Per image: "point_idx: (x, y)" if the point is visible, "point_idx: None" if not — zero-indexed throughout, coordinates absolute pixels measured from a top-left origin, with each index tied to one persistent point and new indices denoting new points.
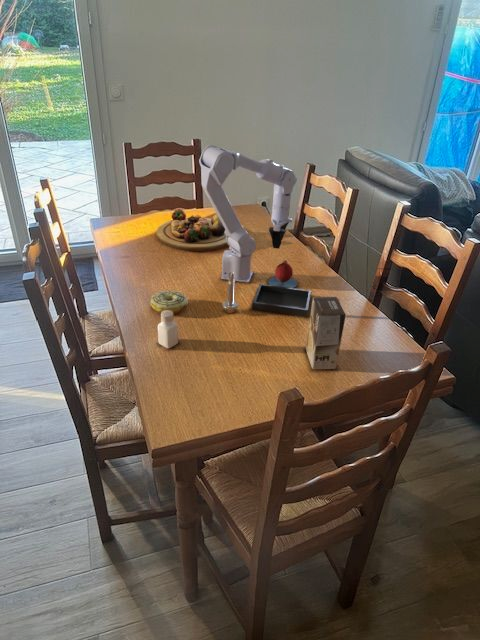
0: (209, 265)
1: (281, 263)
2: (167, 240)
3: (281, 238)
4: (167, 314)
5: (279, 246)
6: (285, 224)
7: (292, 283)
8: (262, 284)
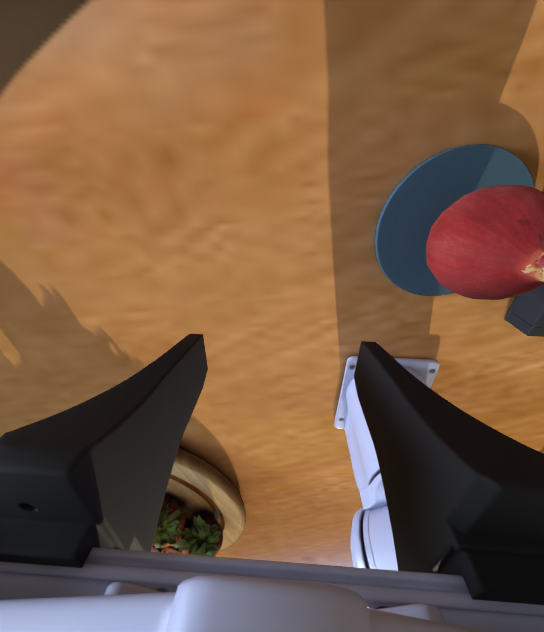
0: (313, 458)
1: (523, 286)
2: (226, 545)
3: (455, 410)
4: None
5: (385, 352)
6: (123, 446)
7: (467, 175)
8: (538, 325)
